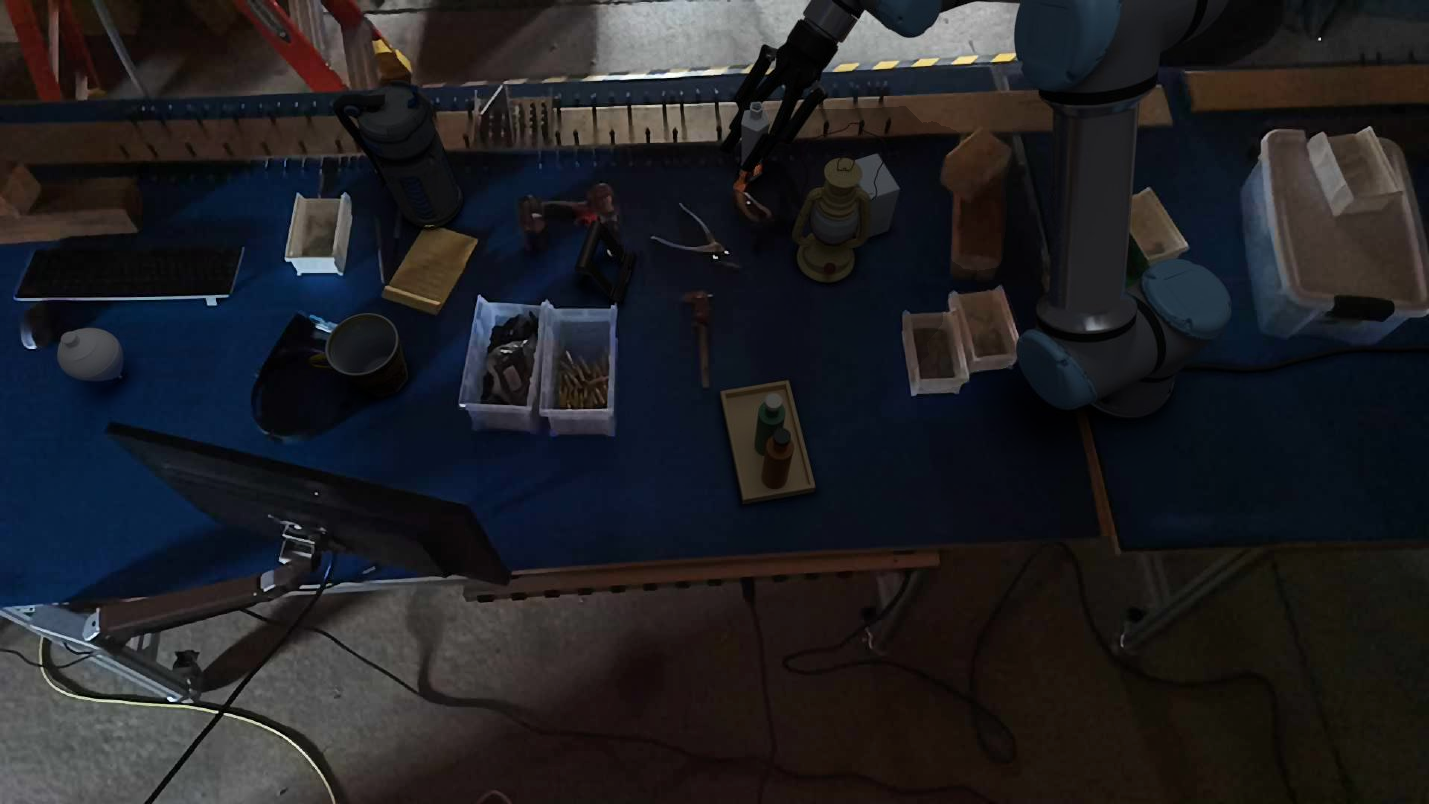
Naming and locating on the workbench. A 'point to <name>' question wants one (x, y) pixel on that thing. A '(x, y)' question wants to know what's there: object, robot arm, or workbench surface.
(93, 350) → the spinning top
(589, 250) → the tablet stand
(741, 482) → the tray
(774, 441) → the amber bottle
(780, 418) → the green bottle
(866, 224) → the lantern
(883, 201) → the small box
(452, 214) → the beverage bottle
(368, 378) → the ceramic cup
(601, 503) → the workbench surface
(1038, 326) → the robot arm
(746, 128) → the perfume bottle
